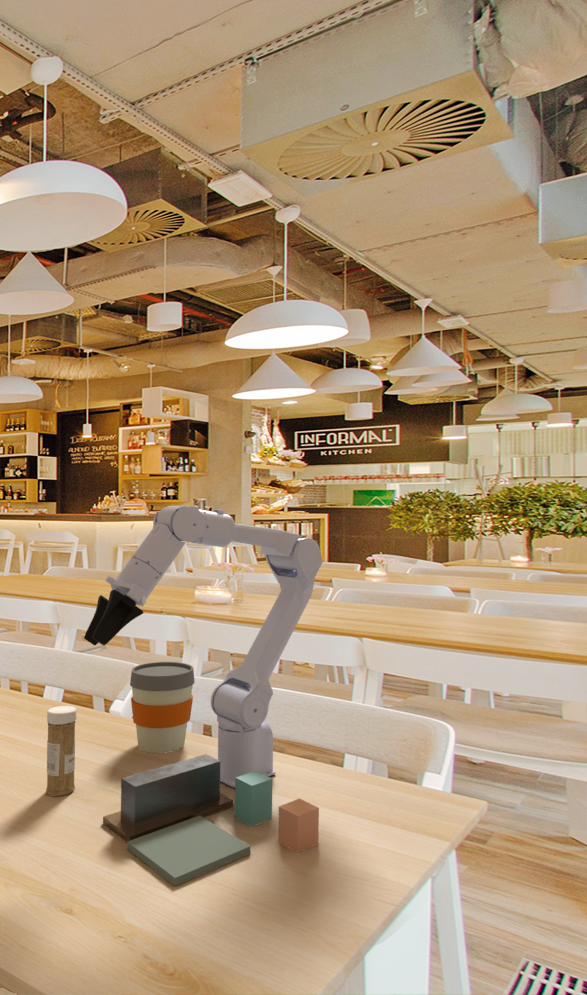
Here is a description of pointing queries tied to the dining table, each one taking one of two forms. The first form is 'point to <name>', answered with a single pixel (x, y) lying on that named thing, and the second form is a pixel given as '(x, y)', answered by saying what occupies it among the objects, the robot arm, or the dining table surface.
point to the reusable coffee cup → (161, 704)
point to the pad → (188, 849)
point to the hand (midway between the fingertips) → (93, 641)
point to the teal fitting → (253, 798)
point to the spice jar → (61, 750)
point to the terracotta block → (298, 825)
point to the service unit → (168, 797)
